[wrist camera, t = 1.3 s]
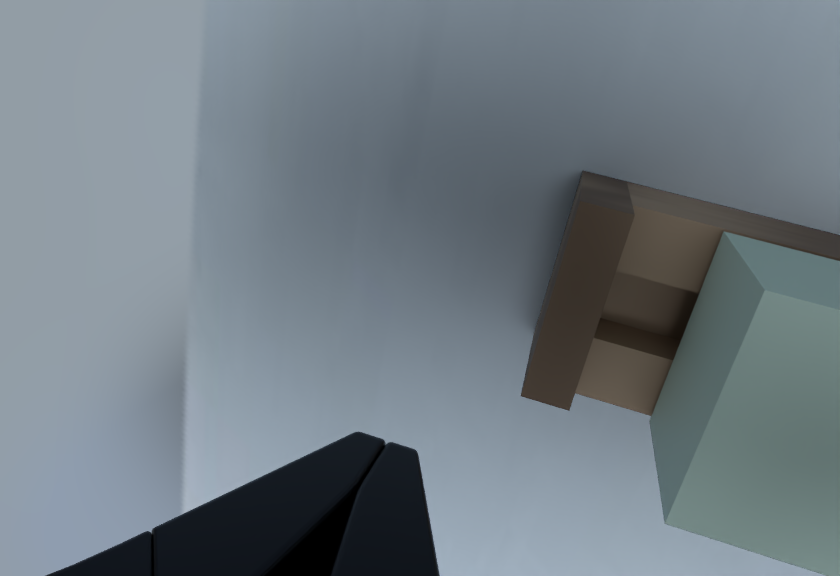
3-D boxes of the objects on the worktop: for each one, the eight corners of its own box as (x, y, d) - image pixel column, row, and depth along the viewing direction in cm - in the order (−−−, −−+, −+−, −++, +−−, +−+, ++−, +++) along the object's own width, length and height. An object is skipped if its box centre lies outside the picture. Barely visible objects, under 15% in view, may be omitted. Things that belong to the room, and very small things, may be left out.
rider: (885, 259, 16) (1022, 358, 11) (798, 436, 18) (880, 593, 13) (712, 215, 17) (764, 290, 12) (645, 391, 19) (664, 523, 13)
